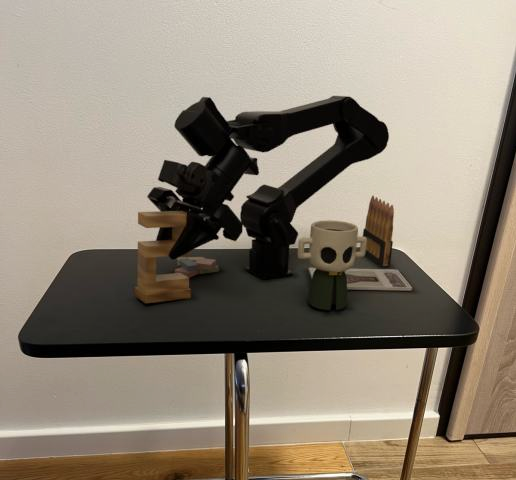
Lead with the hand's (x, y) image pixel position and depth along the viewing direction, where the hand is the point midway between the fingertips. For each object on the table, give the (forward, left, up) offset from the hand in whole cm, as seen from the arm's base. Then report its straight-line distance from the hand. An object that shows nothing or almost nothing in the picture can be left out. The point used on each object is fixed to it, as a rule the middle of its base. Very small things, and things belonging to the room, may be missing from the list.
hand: (162, 254), depth 85 cm
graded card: (-35, +7, -7) cm, 36 cm away
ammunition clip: (-46, -2, -7) cm, 47 cm away
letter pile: (-10, -11, -7) cm, 16 cm away
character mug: (-22, +14, -7) cm, 27 cm away
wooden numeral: (0, 0, -7) cm, 7 cm away
